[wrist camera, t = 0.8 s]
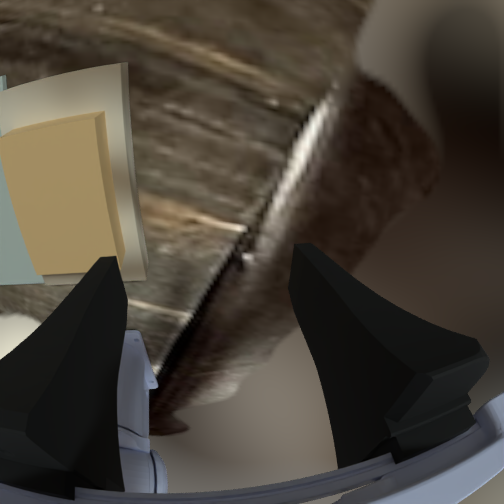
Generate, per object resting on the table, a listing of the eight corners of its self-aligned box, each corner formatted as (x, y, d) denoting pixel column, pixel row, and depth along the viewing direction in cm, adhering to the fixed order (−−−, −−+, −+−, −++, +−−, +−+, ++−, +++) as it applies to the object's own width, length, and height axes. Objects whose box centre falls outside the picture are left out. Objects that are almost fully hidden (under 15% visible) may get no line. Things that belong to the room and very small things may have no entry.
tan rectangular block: (125, 250, 20) (121, 270, 18) (46, 256, 19) (37, 275, 17) (104, 110, 14) (94, 118, 13) (13, 129, 13) (-3, 139, 12)
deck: (148, 262, 23) (146, 280, 21) (53, 268, 22) (45, 285, 20) (127, 62, 15) (120, 63, 13) (11, 87, 13) (-5, 93, 12)
